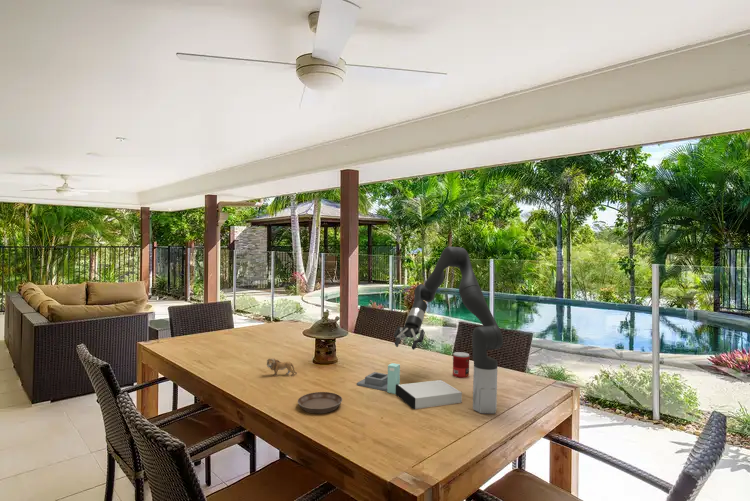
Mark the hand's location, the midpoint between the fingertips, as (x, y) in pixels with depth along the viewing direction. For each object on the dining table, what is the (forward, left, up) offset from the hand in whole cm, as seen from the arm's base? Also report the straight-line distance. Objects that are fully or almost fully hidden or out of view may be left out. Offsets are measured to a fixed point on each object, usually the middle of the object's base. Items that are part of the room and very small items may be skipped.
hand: (404, 347), depth 198 cm
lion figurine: (+10, +59, -17) cm, 63 cm away
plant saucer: (-28, +36, -18) cm, 49 cm away
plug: (-11, +6, -17) cm, 21 cm away
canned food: (+14, -30, -17) cm, 37 cm away
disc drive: (-18, -9, -18) cm, 27 cm away
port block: (-1, +12, -17) cm, 21 cm away
